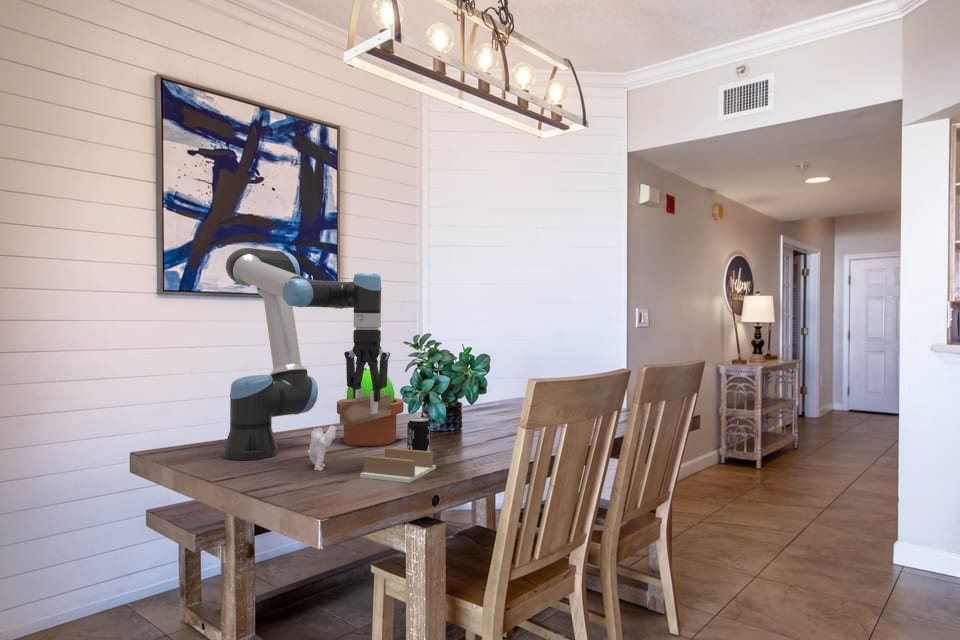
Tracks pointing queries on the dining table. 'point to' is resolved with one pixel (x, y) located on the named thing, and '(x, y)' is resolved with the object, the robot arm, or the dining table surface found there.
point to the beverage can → (418, 434)
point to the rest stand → (398, 465)
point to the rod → (363, 409)
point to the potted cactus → (377, 429)
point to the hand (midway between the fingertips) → (366, 413)
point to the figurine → (320, 445)
